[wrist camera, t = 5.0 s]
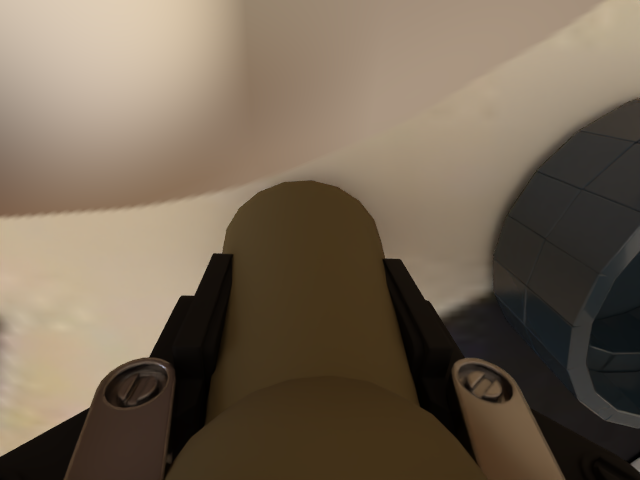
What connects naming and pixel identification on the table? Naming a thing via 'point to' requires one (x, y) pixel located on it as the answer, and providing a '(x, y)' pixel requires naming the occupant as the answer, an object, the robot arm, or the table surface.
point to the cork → (313, 356)
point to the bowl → (581, 265)
